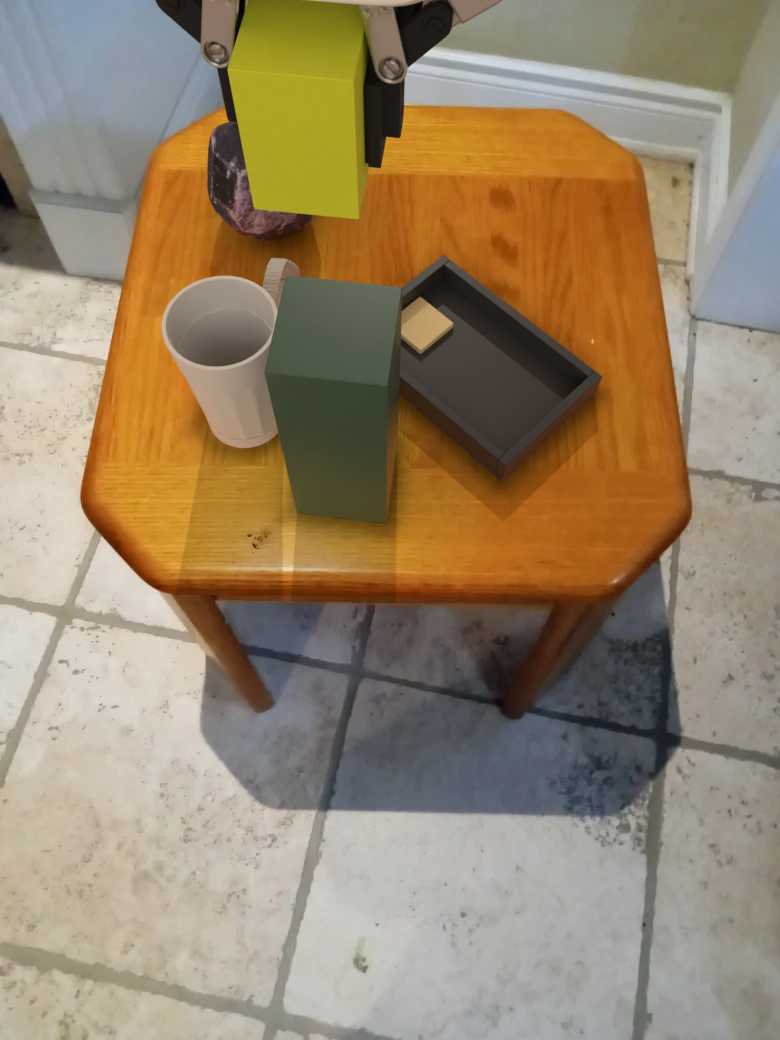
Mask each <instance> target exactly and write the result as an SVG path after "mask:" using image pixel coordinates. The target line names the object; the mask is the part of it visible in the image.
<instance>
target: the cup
mask: <svg viewBox="0 0 780 1040" xmlns="http://www.w3.org/2000/svg"><path fill="white" fill-rule="evenodd" d="M262 287H263V286H261V285H259V284H257V283H256V282H254V281H252V280H251V279H247V278H244V277H240V276H236V275H235V276H234V275H215V276H209V277H205V278H201V279H199V280H197V281H194V282H192V283H190V284H188V285H186V286H185V287H183V288H182V289H181V290H179V291H178V292H177V293H176V294H175V295H174V296H173V297H172V299H171V300H170V301H169V303H168V304H167V305H166V307H165V309H164V312H163V315H162V318H161V319H162V320H161V335H162V339H163V342H164V344H165V346H166V348H167V350H168V351H169V353H170V355H171V356H172V358H173V360H174V361H175V363H176V365H177V368H178V369H179V371H180V372H181V374H182V375H183V376H184V378H185V380H186V382H187V385H188V386H189V388H190V389H191V391H192V393H193V395H194V397H195V399H196V401H197V403H198V405H199V407H200V408H201V410H202V412H203V414H204V416H205V418H206V421H207V423H208V427H209V428H210V431H211V433H212V434H213V436H215V438H217V439H218V440H219V441H220V442H222V443H223V444H225V445H227V446H230V447H233V448H239V449H250V448H256V447H260V446H262V445H265V444H266V443H268V442H269V441H271V440H272V439H273V438H275V437H276V436H277V435H278V430H277V425H276V421H275V417H274V412H273V408H272V404H271V399H270V395H269V391H268V386H267V382H266V378H265V374H264V371H265V366H266V362H267V357H268V353H269V348H270V344H271V340H272V335H273V331H274V326H275V322H276V317H277V313H278V310H277V307H276V304H275V302H274V300H273V299H272V297H271V296H270V295H269V293H268V292H267V291H266V290H265V289H263V288H262Z"/></svg>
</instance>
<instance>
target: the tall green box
mask: <svg viewBox="0 0 780 1040" xmlns="http://www.w3.org/2000/svg"><path fill="white" fill-rule="evenodd" d="M402 287H403V286H393V285H385V284H384V285H383V284H376V283H366V282H365V283H364V282H357V281H356V282H355V281H345V280H336V279H328V278H327V279H326V278H316V277H307V276H299V277H298V276H289V275H286V277H285V282H284V286H283V291H282V295H281V294H280V295H281V300H280V304H279V308H278V313H277V317H276V322H275V326H274V331H273V335H272V340H271V344H270V348H269V353H268V357H267V362H266V366H265V371H264V374H265V378H266V382H267V386H268V391H269V395H270V399H271V404H272V408H273V412H274V417H275V421H276V425H277V430H278V433H277V435H278V438H279V442H280V447H281V451H282V455H283V459H284V460H283V461H284V464H285V468H286V473H287V477H288V481H289V485H290V489H291V493H292V499H293V502H294V506H295V511H296V514H298V515H306V516H314V517H325V518H333V519H339V520H348V521H349V520H351V521H358V522H365V523H375V524H384V525H386V524H387V523H388V517H389V509H390V503H391V495H392V488H393V481H394V474H395V466H396V460H397V453H398V446H399V445H398V441H399V440H398V439H399V409H400V395H399V383H400V350H401V318H402Z"/></svg>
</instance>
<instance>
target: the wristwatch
mask: <svg viewBox="0 0 780 1040" xmlns="http://www.w3.org/2000/svg"><path fill="white" fill-rule="evenodd" d="M286 275H289V276H298V277H300V275H301V269H300V267H299V266H298V265H297V263H295V262H293V261H292V260H290V259H288V258H285V257H284V258H283V257H271V258H270V260H269V261H268V263H267V265H266V269H265V272H264V277H263V282H262V286H261V287H262V288H263V289H265V290H266V291H267V292H268V293H269V295H270V296H271V297H272V299H273V300H274V302H275V304H276V307H277V310H278V308H279V304H280V300H281V295H282V291H283V286H284V282H285V277H286Z"/></svg>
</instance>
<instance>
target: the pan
mask: <svg viewBox="0 0 780 1040" xmlns="http://www.w3.org/2000/svg"><path fill="white" fill-rule="evenodd" d="M401 287H402V310H404V309H405V308H406V307H407V306H409V305H410V304H411V303H412V302H414V301H415V300H416V299H417V298H419V297H421V298H423V299H424V300H425V301H426V302H428V303H429V304H430V305H431V306H433V307H434V308H435V309H436V310H438V311H439V312H440V313H442V314H443V315H444V316H445V317H447V318H448V319H449V320H450V321H452V322H453V328H452V329H450V330H449V331H448V332H447V333H446V334H444V335H443V336H442V337H441V338H440V339H438V340H437V341H436V342H435V343H434V344H432V345H431V346H430V347H429V348H428V349H426V350H425V351H424V352H423V353H422V354H420V353H418V352H417V351H416V350H415V349H413V348H412V347H411V346H410V345H409V344H407V343H406V342H405V341H404V340H403V339H401V350H400V383H399V396H400V397H402V398H403V399H404V400H405V401H406V402H407V403H408V404H410V406H412V407H413V408H415V409H416V410H417V411H418V412H419V413H420V414H422V416H424V417H425V418H426V419H427V420H428V421H430V422H431V423H432V424H433V425H434V426H435V427H437V428H438V429H439V430H440V431H441V432H443V433H444V434H445V435H446V436H447V437H449V438H450V439H451V440H452V441H453V442H454V443H456V444H457V445H458V446H459V447H460V448H461V449H463V450H464V451H465V452H466V453H467V454H468V455H469V456H471V457H472V458H473V459H474V460H475V461H476V462H478V463H479V464H480V465H481V466H483V467H484V468H485V469H486V470H487V471H488V472H489V473H491V474H492V475H493V476H494V477H495V478H496V479H498V480H499V481H500V482H502V483H503V481H505V479H507V478H508V477H509V476H510V475H511V474H512V473H513V472H514V471H515V470H516V469H517V468H519V466H520V465H521V464H523V462H524V461H526V460H527V459H528V458H529V457H530V456H531V455H532V454H533V453H535V451H536V450H537V449H539V448H540V446H542V445H543V444H544V443H545V442H546V441H547V440H548V439H549V438H550V437H551V436H552V435H553V434H554V433H555V432H557V430H559V429H560V428H561V427H562V426H563V425H564V424H565V423H566V422H568V420H569V419H571V417H572V416H574V415H575V414H576V412H578V411H579V410H580V409H581V408H582V407H583V406H584V405H585V404H586V403H588V402H589V401H590V400H591V399H592V398H594V396H595V395H596V394H597V391H598V387H599V386H600V384H601V381H602V379H603V376H602V375H601V374H600V373H598V372H597V371H596V370H595V369H593V368H592V367H591V366H589V365H588V364H587V363H586V362H584V361H583V360H581V359H580V358H579V357H578V356H576V355H575V354H574V353H573V352H571V351H570V350H568V349H567V347H565V346H563V345H562V344H561V343H560V342H558V341H557V340H555V339H554V338H553V337H551V336H550V334H547V332H545V330H542V329H541V328H539V326H537V325H536V324H535V323H533V322H532V321H530V320H529V319H528V318H527V317H525V315H523V314H522V313H520V312H519V311H517V309H515V308H513V306H512V305H510V304H509V303H508V302H506V301H505V300H503V299H502V298H500V296H498V295H497V294H496V293H494V292H493V291H492V290H491V289H489V288H488V287H486V286H485V285H484V284H482V282H480V281H479V280H478V279H476V278H475V277H473V276H472V275H471V274H470V273H468V272H467V271H466V270H464V269H463V268H462V267H461V266H460V265H458V264H456V263H455V262H454V261H453V260H451V259H450V258H449V257H447V256H446V255H445V254H442V255H441V256H440V257H439V258H438V259H436V260H435V261H433V262H432V263H431V264H430V265H429V266H427V267H426V268H425V269H424V270H422V271H421V272H420V273H418V274H417V275H416V276H415V277H413V278H412V279H411V280H410V281H408V282H407V283H406V284H404V285H403V286H401Z"/></svg>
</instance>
